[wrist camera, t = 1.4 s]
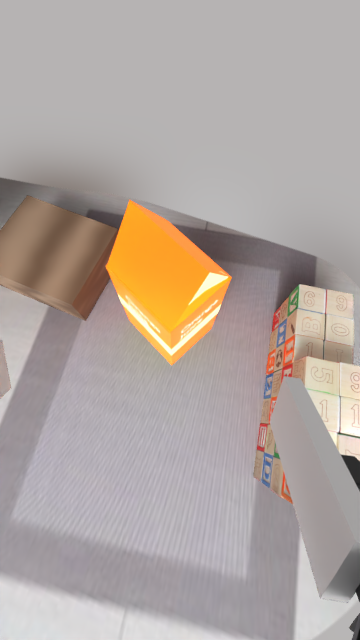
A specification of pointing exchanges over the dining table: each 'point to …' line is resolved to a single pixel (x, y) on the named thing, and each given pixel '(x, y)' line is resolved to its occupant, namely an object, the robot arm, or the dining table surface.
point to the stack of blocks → (312, 373)
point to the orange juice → (165, 282)
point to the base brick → (56, 256)
